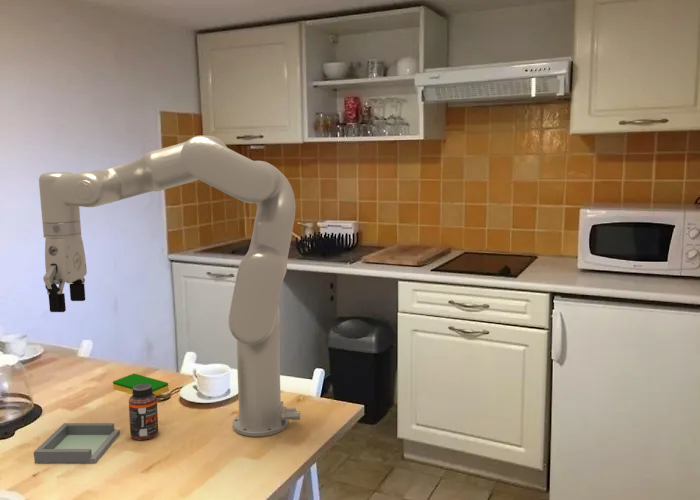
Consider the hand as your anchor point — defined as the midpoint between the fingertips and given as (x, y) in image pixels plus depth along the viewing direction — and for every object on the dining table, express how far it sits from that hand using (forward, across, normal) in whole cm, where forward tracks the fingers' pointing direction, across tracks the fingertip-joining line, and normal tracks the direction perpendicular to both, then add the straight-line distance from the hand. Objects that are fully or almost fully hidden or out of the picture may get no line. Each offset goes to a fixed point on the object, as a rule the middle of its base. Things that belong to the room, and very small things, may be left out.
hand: (68, 306), depth 140 cm
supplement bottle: (+29, -4, -17) cm, 33 cm away
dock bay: (+28, -10, -5) cm, 31 cm away
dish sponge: (+29, +23, -6) cm, 38 cm away
